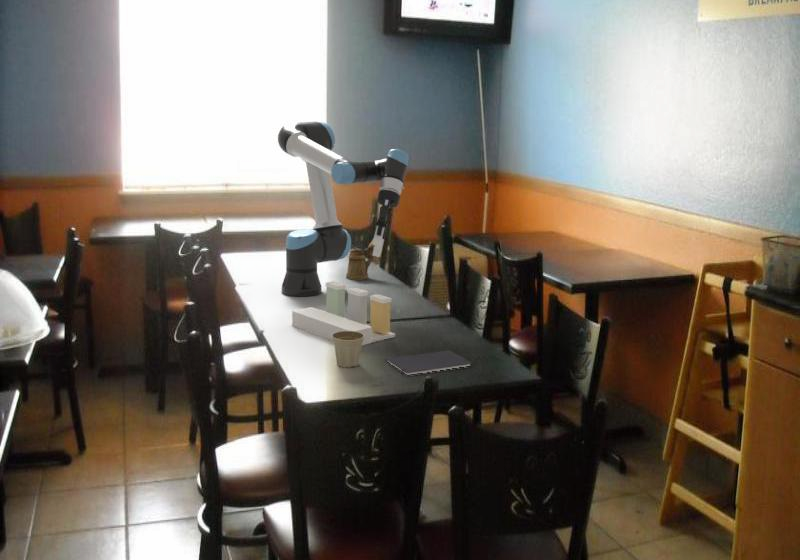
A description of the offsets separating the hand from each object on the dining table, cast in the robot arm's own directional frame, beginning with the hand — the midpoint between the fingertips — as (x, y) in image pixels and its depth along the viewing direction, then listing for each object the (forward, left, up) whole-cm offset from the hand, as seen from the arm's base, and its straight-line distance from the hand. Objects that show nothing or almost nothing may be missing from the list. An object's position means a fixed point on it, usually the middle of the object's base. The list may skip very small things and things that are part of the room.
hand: (376, 251), depth 277 cm
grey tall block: (+1, -15, -21) cm, 26 cm away
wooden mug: (-31, +49, -23) cm, 63 cm away
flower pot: (+17, -49, -23) cm, 56 cm away
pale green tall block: (-9, -12, -21) cm, 26 cm away
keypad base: (-1, -22, -23) cm, 32 cm away
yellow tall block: (+12, -19, -21) cm, 31 cm away
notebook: (+37, -36, -24) cm, 57 cm away
